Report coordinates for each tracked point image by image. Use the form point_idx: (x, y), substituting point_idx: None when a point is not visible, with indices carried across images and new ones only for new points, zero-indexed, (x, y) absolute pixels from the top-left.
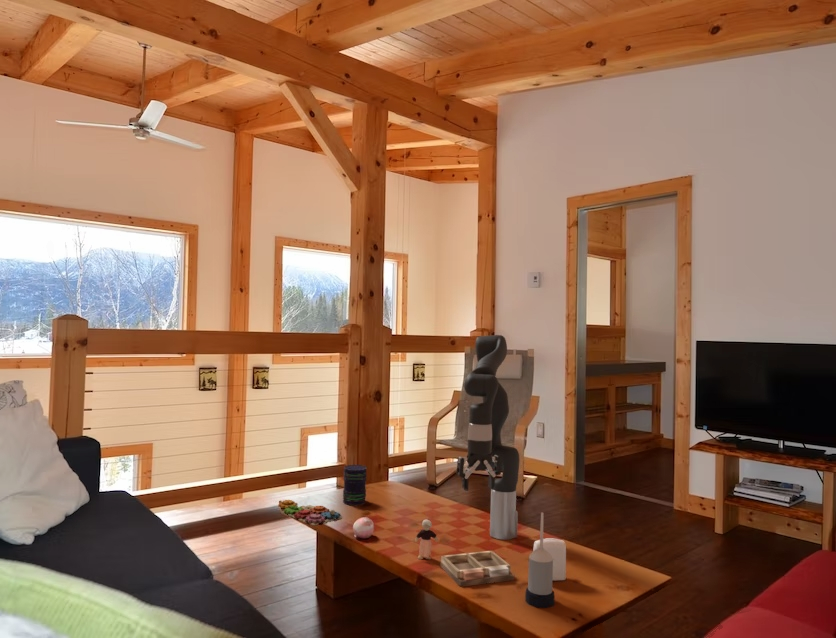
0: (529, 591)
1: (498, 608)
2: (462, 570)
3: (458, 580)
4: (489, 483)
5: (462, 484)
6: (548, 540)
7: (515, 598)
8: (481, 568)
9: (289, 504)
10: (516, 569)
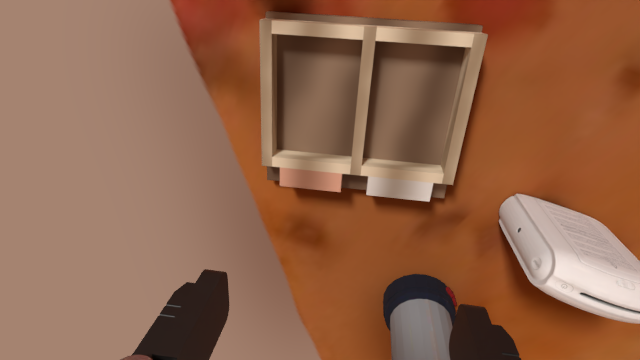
0: (389, 317)
1: (307, 290)
2: (280, 164)
3: (267, 166)
4: (465, 355)
5: (166, 310)
6: (594, 310)
7: (372, 271)
8: (346, 171)
9: None
10: (508, 127)
